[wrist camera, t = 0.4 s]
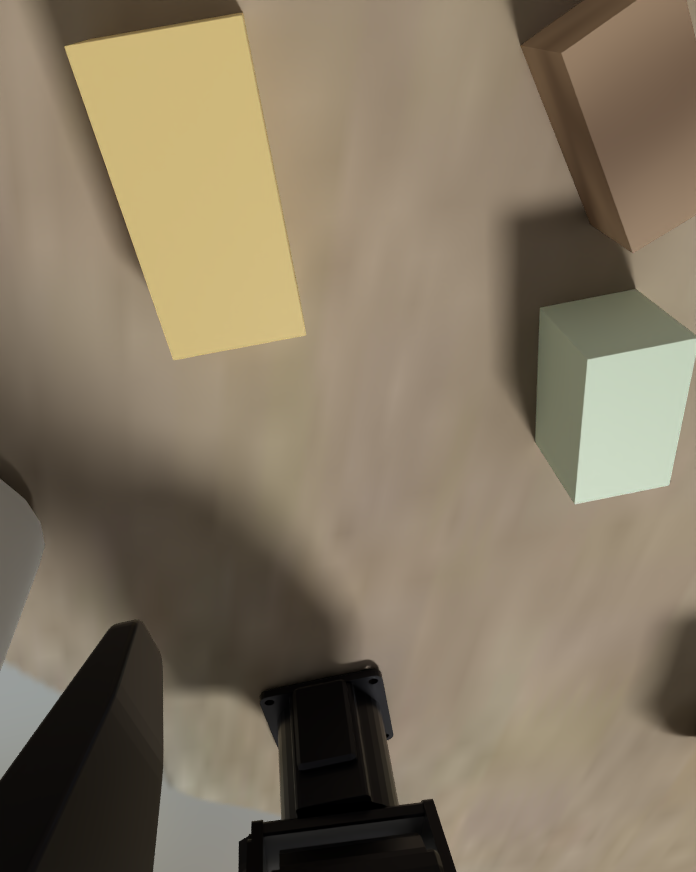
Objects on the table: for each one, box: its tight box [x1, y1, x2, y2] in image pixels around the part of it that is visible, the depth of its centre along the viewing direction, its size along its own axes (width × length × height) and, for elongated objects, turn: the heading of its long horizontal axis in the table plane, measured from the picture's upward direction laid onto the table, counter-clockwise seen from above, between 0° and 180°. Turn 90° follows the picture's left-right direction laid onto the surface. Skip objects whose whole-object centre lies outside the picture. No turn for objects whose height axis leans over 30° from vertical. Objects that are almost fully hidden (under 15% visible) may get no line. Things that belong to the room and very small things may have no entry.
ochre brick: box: [64, 12, 306, 360], centre depth 18 cm, size 8×4×3 cm, turn 8°
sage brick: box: [535, 289, 696, 504], centre depth 22 cm, size 6×4×4 cm, turn 8°
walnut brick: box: [520, 0, 696, 253], centre depth 18 cm, size 6×3×3 cm, turn 33°
